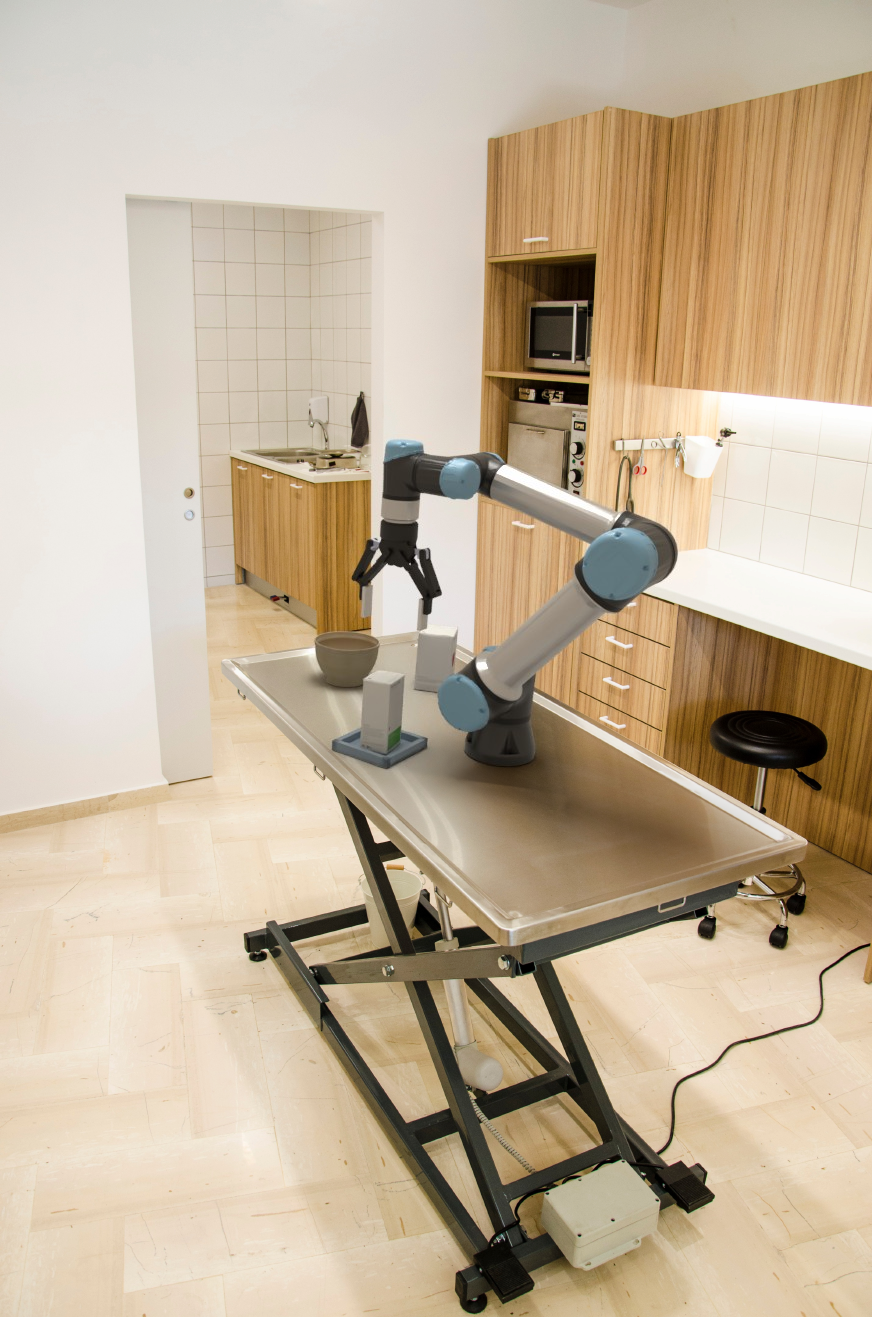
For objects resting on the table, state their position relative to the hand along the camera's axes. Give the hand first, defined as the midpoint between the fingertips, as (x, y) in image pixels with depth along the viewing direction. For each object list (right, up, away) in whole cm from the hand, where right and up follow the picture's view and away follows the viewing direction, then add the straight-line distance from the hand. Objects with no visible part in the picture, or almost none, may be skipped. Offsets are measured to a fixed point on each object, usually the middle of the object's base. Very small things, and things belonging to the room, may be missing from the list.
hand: (393, 622), depth 202 cm
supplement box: (+8, -14, +46) cm, 49 cm away
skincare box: (-3, -26, +7) cm, 27 cm away
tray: (-3, -26, +7) cm, 27 cm away
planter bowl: (-14, -13, +45) cm, 49 cm away
